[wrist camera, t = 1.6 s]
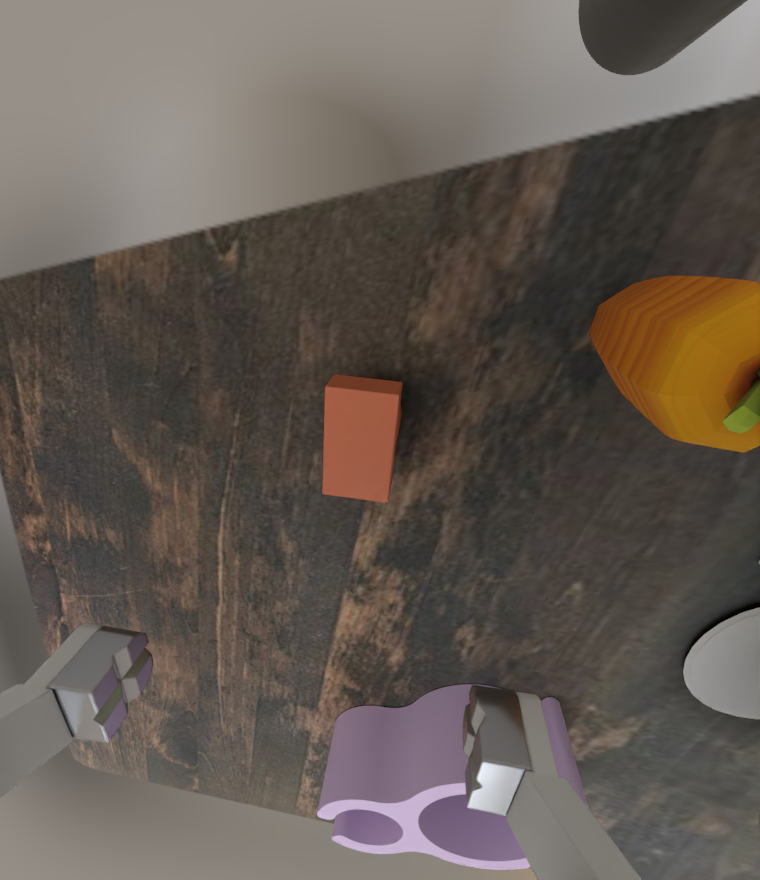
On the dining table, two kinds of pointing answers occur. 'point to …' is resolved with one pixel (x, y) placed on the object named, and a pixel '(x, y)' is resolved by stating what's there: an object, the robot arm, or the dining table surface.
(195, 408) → the dining table surface
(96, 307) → the dining table surface
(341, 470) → the pad piece
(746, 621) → the chalice
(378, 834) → the clip
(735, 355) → the carrot
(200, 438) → the dining table surface
